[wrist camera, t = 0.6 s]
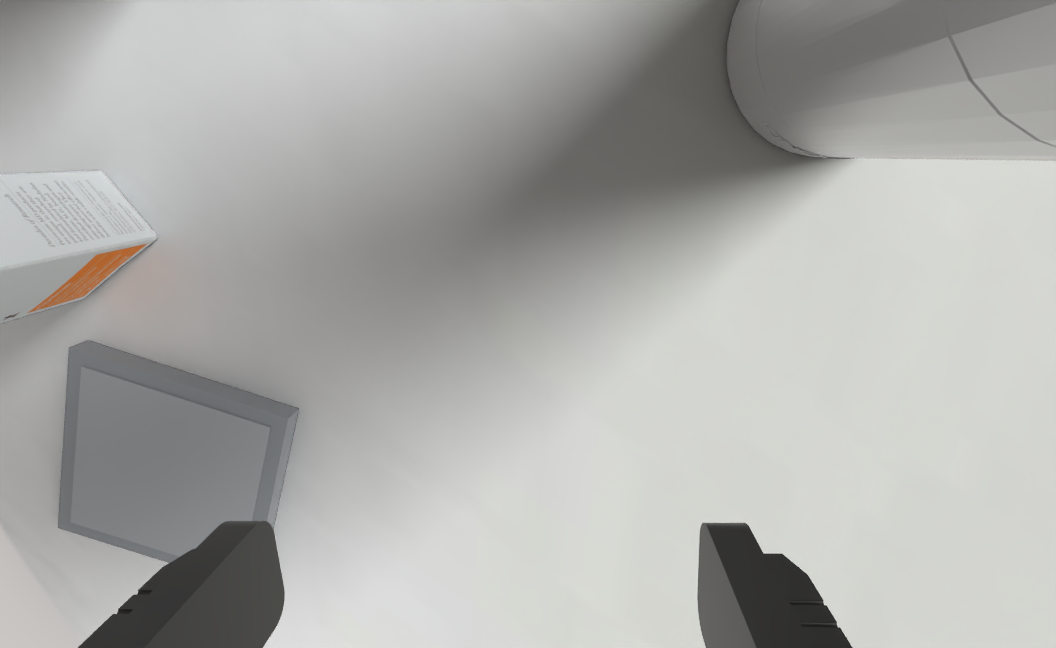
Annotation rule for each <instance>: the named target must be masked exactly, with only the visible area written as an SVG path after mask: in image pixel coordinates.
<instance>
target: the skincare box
mask: <svg viewBox="0 0 1056 648" xmlns="http://www.w3.org/2000/svg"><path fill="white" fill-rule="evenodd" d="M156 239H157V234H156V233H155V232H154V231H153V230H152V228H151V227H150V226H149V225H148V224H147V223H146V221H145V220H144V219H143V218H142V217H141V216H140V215H139V213H138V212H137V211H136V210H135V209H134V207H133V206H132V205H131V204H130V203H129V202H128V200H127V199H126V198H125V197H124V196H123V194H122V193H121V192H120V191H119V190H118V188H117V187H116V186H115V185H114V184H113V182H112V181H111V180H110V179H109V178H108V177H107V175H106V174H105V173H104V172H103V171H101V170H88V171H63V172H34V173H4V174H0V324H2V323H5V322H8V321H11V320H15V319H18V318H21V317H24V316H28V315H31V314H34V313H38V312H42V311H45V310H48V309H51V308H55V307H58V306H62V305H65V304H68V303H72V302H75V301H78V300H82V299H85V298H86V297H87V296H88V295H89V294H90V293H91V292H92V291H94V290H95V289H96V288H97V287H98V286H100V285H101V284H102V283H103V282H104V281H106V280H107V279H108V278H109V277H110V276H111V275H113V274H114V273H115V272H116V271H117V270H118V269H120V268H121V267H122V266H123V265H125V264H126V263H127V262H128V261H130V260H131V259H132V258H134V257H135V256H136V255H138V254H139V253H140V252H141V251H143V250H144V249H145V248H146V247H147V246H149V245H150V244H151V243H153V242H154V241H155V240H156Z"/></svg>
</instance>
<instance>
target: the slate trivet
mask: <svg viewBox="0 0 1056 648" xmlns="http://www.w3.org/2000/svg"><path fill="white" fill-rule="evenodd" d="M298 411H299V409H298V408H295V407H292V406H289V405H286V404H283V403H280V402H277V401H274V400H271V399H268V398H264V397H261V396H258V395H255V394H252V393H249V392H246V391H243V390H240V389H237V388H234V387H231V386H227V385H224V384H221V383H218V382H215V381H212V380H209V379H206V378H203V377H200V376H197V375H194V374H190V373H187V372H184V371H181V370H178V369H175V368H172V367H169V366H166V365H163V364H160V363H157V362H153V361H150V360H147V359H144V358H141V357H138V356H135V355H132V354H129V353H126V352H123V351H120V350H116V349H113V348H110V347H107V346H104V345H101V344H98V343H95V342H92V341H89V340H88V341H85V342H83V343H80V344H77V345H75V346H72V347H70V348H69V357H68V374H67V390H66V406H65V422H64V439H63V455H62V471H61V487H60V504H59V520H58V528H60V529H63V530H67V531H70V532H73V533H76V534H79V535H82V536H86V537H89V538H92V539H95V540H98V541H102V542H105V543H108V544H111V545H114V546H117V547H121V548H124V549H127V550H130V551H133V552H137V553H140V554H143V555H146V556H149V557H152V558H156V559H159V560H162V561H165V562H168V563H171V562H172V561H174V560H175V559H177V558H179V557H180V556H182V555H183V554H185V553H187V552H188V551H190V550H192V549H196V548H197V547H198V546H199V545H200V544H201V543H202V542H203V541H204V540H205V539H206V538H207V537H208V536H209V535H210V534H211V533H212V532H213V531H214V530H215V529H216V528H217V527H218V526H219V525H220V524H221V523H223V522H225V521H267V522H269V523H270V525H271V526H272V528H274V523H275V519H276V514H277V509H278V505H279V500H280V495H281V491H282V486H283V481H284V476H285V472H286V467H287V462H288V458H289V453H290V448H291V444H292V439H293V434H294V429H295V425H296V420H297V415H298Z"/></svg>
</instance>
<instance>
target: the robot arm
mask: <svg viewBox="0 0 1056 648" xmlns="http://www.w3.org/2000/svg"><path fill="white" fill-rule="evenodd" d="M727 71H728V76H729V81H730V86H731V91H732V94H733V96H734V98H735V100H736V103H737V105H738V107H739V109H740V112H741V113H742V114H743V116H744V117H745V118H746V120H747V121H748V122H749V124H750V125H751V126H752V128H753V129H754V130H755V131H756V132H758V133H759V134H760V135H761V136H762V137H764V138H765V139H766V140H767V141H769V142H770V143H772V144H774V145H776V146H778V147H780V148H782V149H784V150H786V151H788V152H791V153H796V154H800V155H805V156H809V157H823V158H835V159H850V158H889V159H966V160H1043V161H1056V0H739V3H738V5H737V7H736V10H735V12H734V15H733V17H732V22H731V27H730V31H729V36H728V41H727ZM283 605H284V585H283V580H282V574H281V569H280V563H279V558H278V552H277V547H276V541H275V536H274V531H273V528H272V526H271V525H270V523H269V522H267V521H225V522H223V523H221V524H220V525H219V526H218V527H217V528H216V529H215V530H214V531H213V532H212V533H211V534H210V535H209V536H208V537H207V538H206V539H205V540H204V541H203V542H202V543H201V544H200V545H199V546H198V547H197V548H196V549H192V550H190V551H188V552H187V553H185V554H183V555H182V556H180V557H179V558H177V559H175V560H174V561H172V562H171V563H169V564H167V565H166V566H164V567H162V568H161V569H160V570H159V571H158V572H157V573H156V574H155V575H154V576H153V577H152V578H151V579H150V580H149V581H148V582H146V583H145V584H144V585H143V586H142V587H141V588H140V589H139V590H138V594H137V595H133V596H132V597H131V598H130V599H129V600H128V601H126V602H125V603H124V604H123V605H122V606H121V607H120V608H119V609H118V613H117V614H113V615H112V616H111V617H110V618H109V619H108V620H106V621H105V622H104V623H103V624H102V625H101V626H100V627H99V628H98V629H97V630H96V631H95V632H94V633H93V634H92V635H91V636H90V637H89V638H88V639H86V640H85V641H84V642H83V643H82V644H81V645H80V646H79V647H78V648H263V646H264V645H265V643H266V642H267V640H268V639H269V637H270V636H271V634H272V632H273V631H274V629H275V628H276V626H277V624H278V622H279V620H280V617H281V614H282V610H283ZM698 612H699V620H700V626H701V631H702V635H703V639H704V642H705V646H706V648H852V646H851V645H850V643H849V641H848V640H847V638H846V637H845V635H844V633H843V632H842V630H841V628H838V627H837V622H836V620H835V619H834V617H833V615H832V614H831V612H830V611H829V609H828V607H827V606H826V605H824V603H823V599H822V598H821V596H820V594H819V593H818V591H817V589H816V588H815V586H814V584H813V583H812V581H811V580H810V578H809V576H808V575H807V574H806V573H805V572H803V571H802V570H801V569H800V568H799V567H797V566H796V565H795V564H794V563H793V562H791V561H790V560H789V559H788V558H787V557H785V556H784V555H783V554H763V552H762V550H761V548H760V546H759V545H758V543H757V541H756V539H755V537H754V535H753V533H752V531H751V529H750V528H749V526H748V525H747V524H746V523H702V525H701V529H700V543H699V571H698Z"/></svg>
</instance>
